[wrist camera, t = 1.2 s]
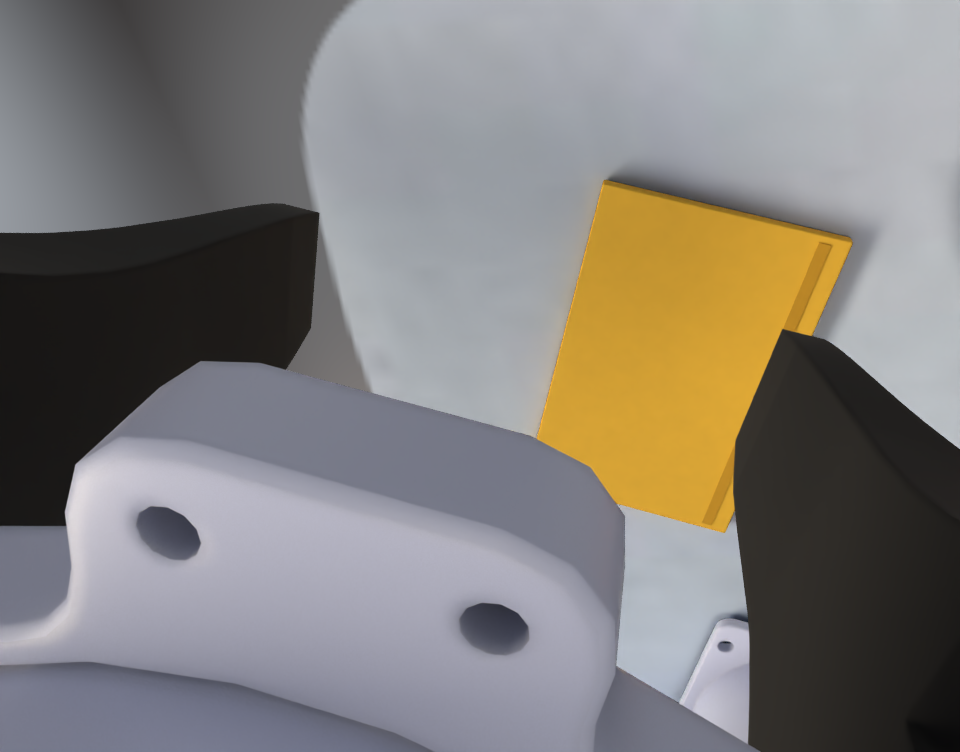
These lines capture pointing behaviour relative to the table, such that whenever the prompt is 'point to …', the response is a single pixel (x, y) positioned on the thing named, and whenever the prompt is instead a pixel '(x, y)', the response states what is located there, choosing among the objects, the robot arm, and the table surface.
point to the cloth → (678, 343)
